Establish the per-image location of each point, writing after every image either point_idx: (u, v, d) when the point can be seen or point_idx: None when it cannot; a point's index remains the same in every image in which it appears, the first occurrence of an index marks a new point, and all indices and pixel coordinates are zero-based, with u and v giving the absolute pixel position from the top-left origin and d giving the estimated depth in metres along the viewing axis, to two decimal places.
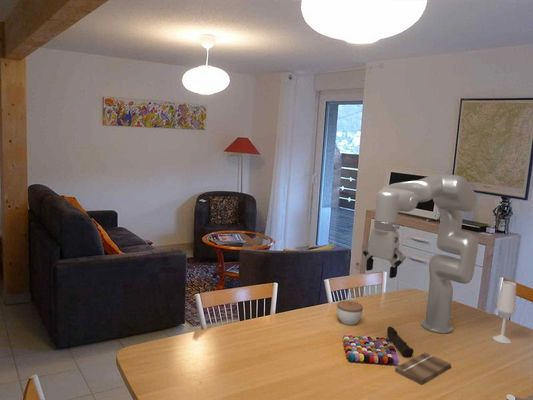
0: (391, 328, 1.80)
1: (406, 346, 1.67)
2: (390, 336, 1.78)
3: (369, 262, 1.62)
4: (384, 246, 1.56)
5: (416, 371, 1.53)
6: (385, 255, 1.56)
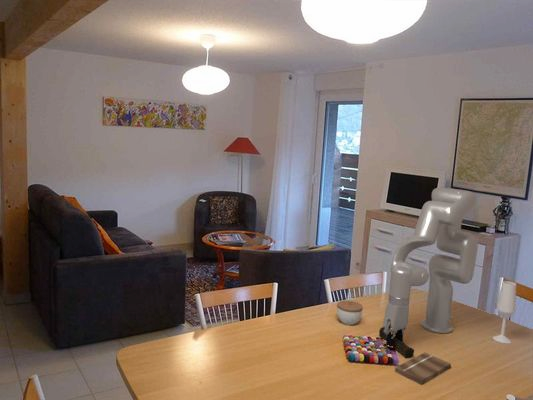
0: None
1: (406, 346, 1.67)
2: (385, 337, 1.77)
3: None
4: (405, 317, 1.71)
5: (416, 371, 1.53)
6: (405, 324, 1.72)
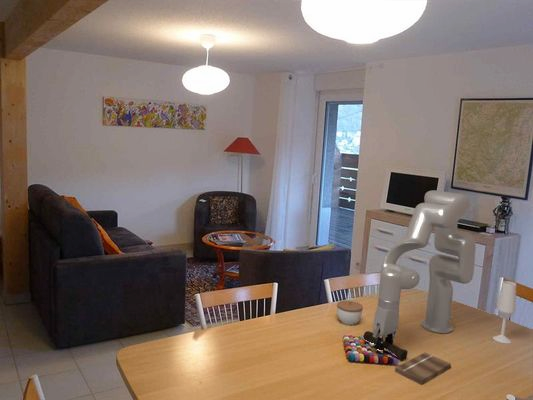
0: (370, 333, 1.74)
1: (400, 349, 1.64)
2: (372, 341, 1.72)
3: None
4: (395, 321, 1.67)
5: (416, 371, 1.53)
6: (395, 328, 1.68)
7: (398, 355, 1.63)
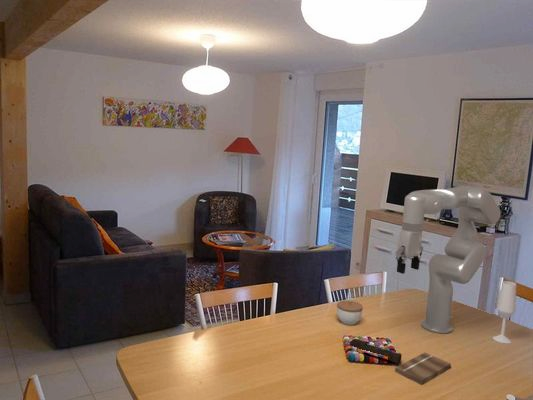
0: (358, 340, 1.67)
1: (394, 353, 1.61)
2: (362, 349, 1.66)
3: None
4: (419, 244, 1.74)
5: (416, 371, 1.53)
6: (418, 252, 1.75)
7: (394, 360, 1.59)
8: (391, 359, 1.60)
